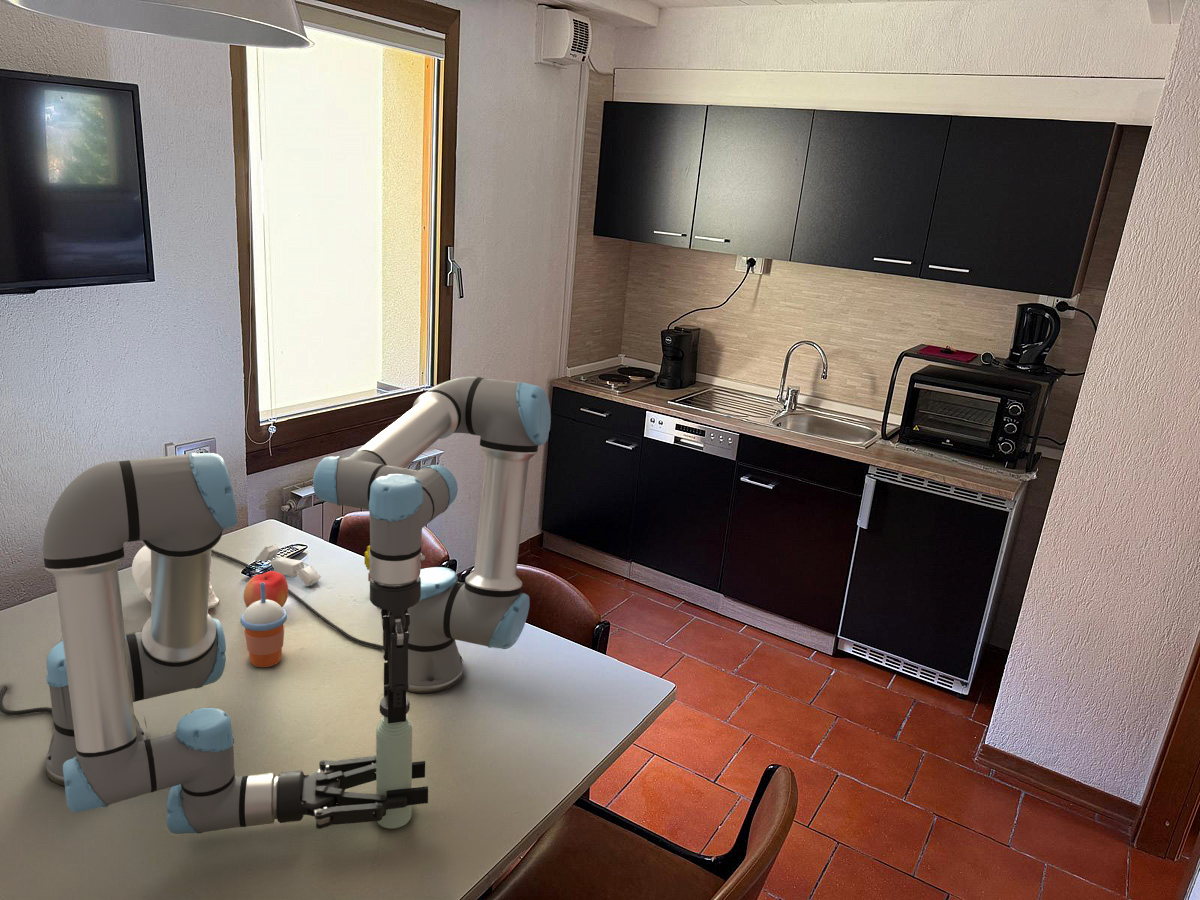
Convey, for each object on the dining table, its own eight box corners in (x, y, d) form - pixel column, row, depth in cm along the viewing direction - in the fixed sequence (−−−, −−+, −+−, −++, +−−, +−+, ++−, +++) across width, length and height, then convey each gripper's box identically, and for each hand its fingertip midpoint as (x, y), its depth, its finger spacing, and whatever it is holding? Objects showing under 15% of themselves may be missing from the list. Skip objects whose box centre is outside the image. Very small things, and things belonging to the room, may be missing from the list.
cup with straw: (273, 674, 177) (270, 596, 172) (233, 667, 179) (229, 589, 174) (296, 652, 186) (294, 577, 181) (258, 645, 188) (255, 571, 182)
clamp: (253, 565, 223) (254, 542, 221) (265, 560, 226) (266, 537, 224) (309, 593, 215) (310, 569, 213) (320, 588, 218) (321, 564, 216)
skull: (197, 623, 194) (195, 558, 190) (119, 603, 200) (115, 540, 196) (237, 600, 207) (236, 539, 203) (163, 582, 212) (160, 522, 208)
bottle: (402, 831, 138) (404, 717, 132) (370, 824, 139) (370, 711, 133) (416, 808, 144) (418, 697, 137) (385, 801, 145) (385, 691, 138)
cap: (402, 698, 139) (402, 690, 138) (414, 713, 135) (414, 704, 135) (375, 706, 136) (375, 698, 136) (386, 721, 132) (386, 713, 132)
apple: (273, 600, 207) (272, 562, 204) (297, 613, 202) (296, 575, 199) (237, 614, 200) (234, 575, 197) (261, 628, 194) (259, 588, 191)
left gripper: (282, 778, 145) (422, 764, 151) (272, 861, 127) (430, 841, 134) (281, 741, 142) (422, 728, 149) (270, 819, 125) (431, 801, 131)
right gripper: (429, 603, 122) (426, 741, 128) (413, 549, 138) (411, 675, 145) (375, 607, 119) (375, 749, 126) (365, 553, 136) (365, 680, 143)
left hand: (426, 781), depth 141 cm, fingers closed on bottle, 6 cm apart
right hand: (394, 709), depth 135 cm, fingers open, 6 cm apart
